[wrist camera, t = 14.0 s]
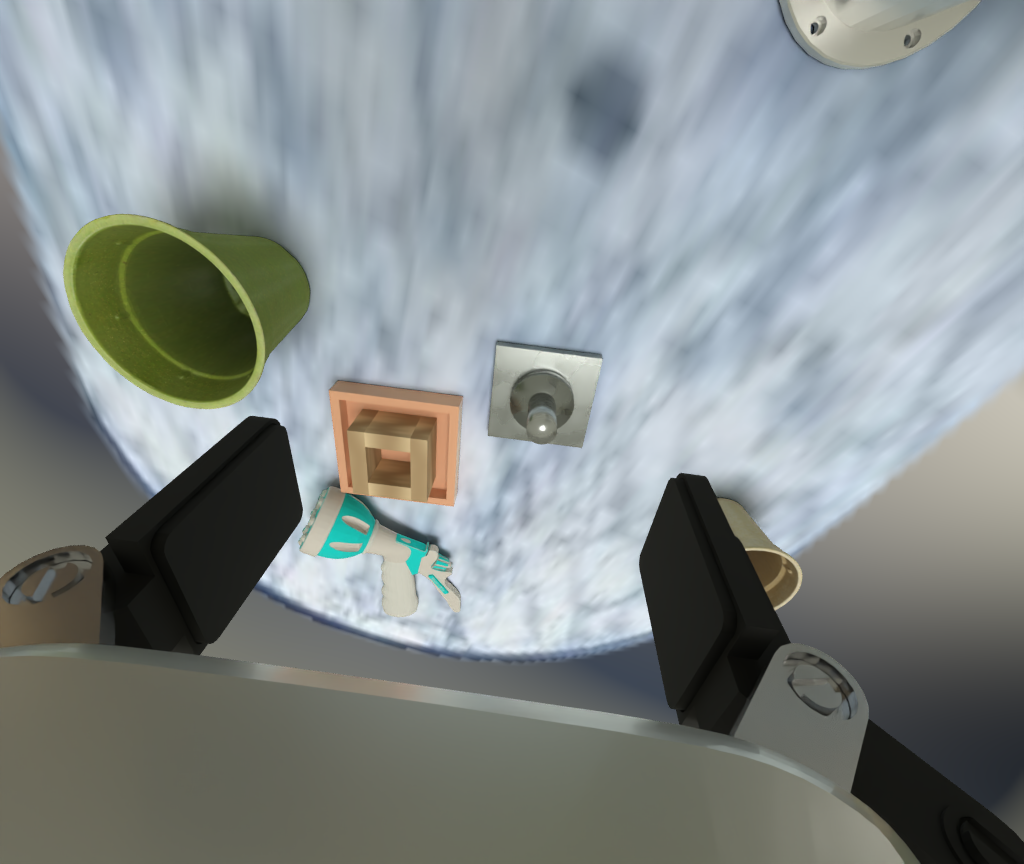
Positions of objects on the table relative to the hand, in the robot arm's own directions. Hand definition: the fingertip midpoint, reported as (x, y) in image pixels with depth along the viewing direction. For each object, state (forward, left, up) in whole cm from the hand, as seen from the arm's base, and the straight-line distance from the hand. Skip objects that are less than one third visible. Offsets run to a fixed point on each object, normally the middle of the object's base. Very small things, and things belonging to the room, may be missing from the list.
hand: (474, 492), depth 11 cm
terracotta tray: (+10, +18, -28) cm, 34 cm away
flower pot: (-23, +22, -28) cm, 43 cm away
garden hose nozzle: (+11, +33, -28) cm, 45 cm away
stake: (-3, +10, -28) cm, 30 cm away
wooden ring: (+10, +17, -27) cm, 34 cm away
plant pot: (+21, +3, -28) cm, 35 cm away
